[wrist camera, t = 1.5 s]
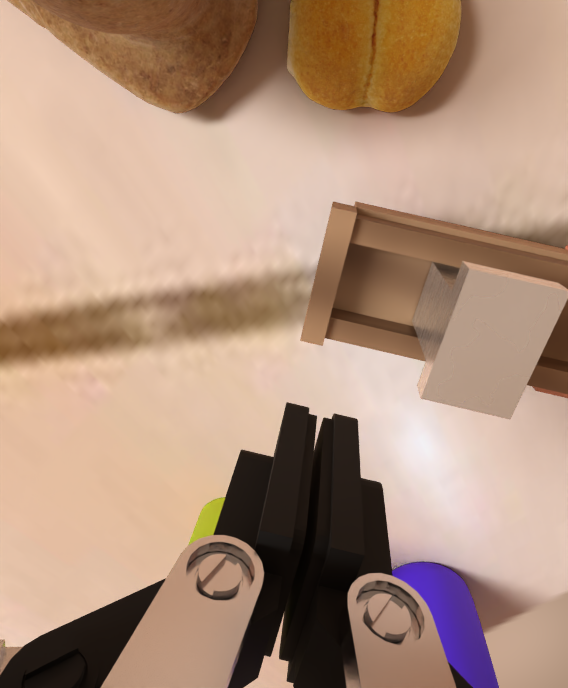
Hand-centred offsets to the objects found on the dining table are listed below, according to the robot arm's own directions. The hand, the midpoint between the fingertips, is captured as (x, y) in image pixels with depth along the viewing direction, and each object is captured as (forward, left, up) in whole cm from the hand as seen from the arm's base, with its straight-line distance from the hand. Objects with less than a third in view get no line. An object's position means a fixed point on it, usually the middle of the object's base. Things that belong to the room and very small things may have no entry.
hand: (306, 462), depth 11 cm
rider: (0, +7, -16) cm, 18 cm away
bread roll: (-12, -1, -23) cm, 26 cm away
